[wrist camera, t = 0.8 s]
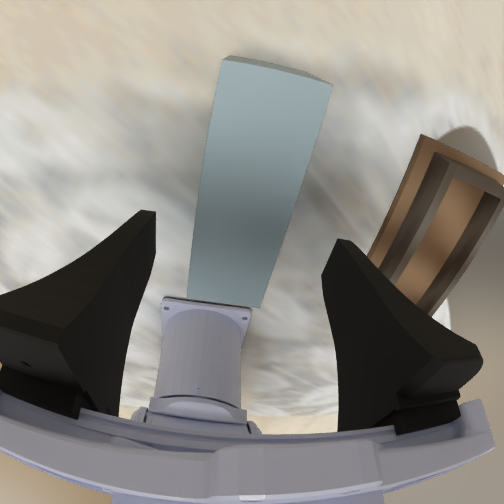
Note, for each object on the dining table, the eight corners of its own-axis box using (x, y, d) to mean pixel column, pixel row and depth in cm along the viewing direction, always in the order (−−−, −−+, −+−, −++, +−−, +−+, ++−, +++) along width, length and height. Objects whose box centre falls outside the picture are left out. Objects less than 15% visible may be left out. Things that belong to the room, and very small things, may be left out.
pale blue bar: (256, 247, 23) (259, 308, 18) (197, 237, 22) (186, 298, 18) (305, 71, 15) (333, 85, 10) (229, 55, 14) (222, 59, 10)
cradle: (414, 319, 29) (422, 337, 27) (335, 314, 28) (340, 336, 26) (502, 174, 18) (520, 189, 16) (420, 134, 17) (440, 147, 15)
